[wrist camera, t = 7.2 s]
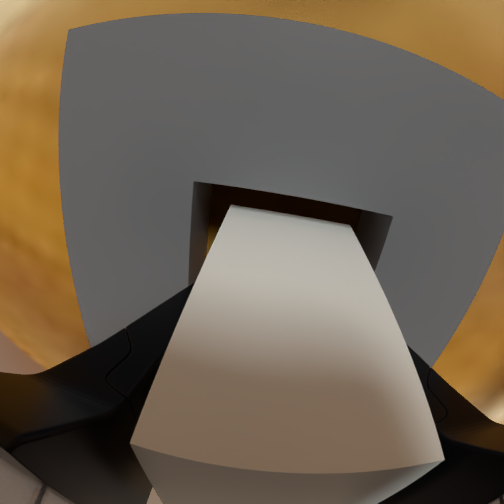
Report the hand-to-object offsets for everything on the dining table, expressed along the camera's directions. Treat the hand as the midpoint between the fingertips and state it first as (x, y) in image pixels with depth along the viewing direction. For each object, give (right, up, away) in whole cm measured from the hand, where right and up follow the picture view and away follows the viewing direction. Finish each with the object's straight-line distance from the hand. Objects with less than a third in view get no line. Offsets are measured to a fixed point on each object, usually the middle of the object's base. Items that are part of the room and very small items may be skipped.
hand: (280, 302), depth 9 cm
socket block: (0, +2, +4) cm, 4 cm away
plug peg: (0, +1, +2) cm, 2 cm away
